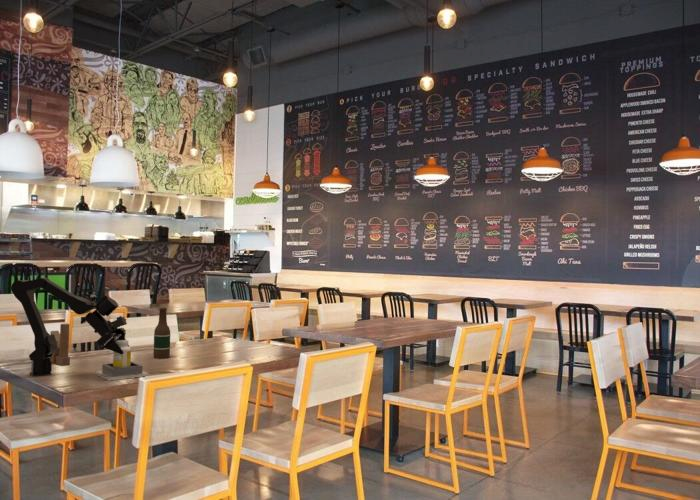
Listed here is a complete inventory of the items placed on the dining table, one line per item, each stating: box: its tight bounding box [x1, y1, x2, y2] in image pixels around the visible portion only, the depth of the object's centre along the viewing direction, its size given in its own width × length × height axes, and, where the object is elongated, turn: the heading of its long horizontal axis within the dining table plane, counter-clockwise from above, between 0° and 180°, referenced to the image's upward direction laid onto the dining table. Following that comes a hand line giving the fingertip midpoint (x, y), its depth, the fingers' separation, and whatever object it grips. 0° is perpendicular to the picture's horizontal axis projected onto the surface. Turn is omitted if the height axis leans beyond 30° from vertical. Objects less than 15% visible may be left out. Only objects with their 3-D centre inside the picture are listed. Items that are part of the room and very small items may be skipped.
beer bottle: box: [152, 306, 171, 360], centre depth 286 cm, size 8×8×24 cm
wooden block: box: [49, 323, 71, 366], centre depth 262 cm, size 4×11×18 cm, turn 55°
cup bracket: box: [95, 361, 150, 382], centre depth 241 cm, size 16×16×4 cm
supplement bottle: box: [112, 339, 132, 368], centre depth 241 cm, size 7×7×13 cm
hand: (126, 351), depth 242 cm, fingers open, 9 cm apart
